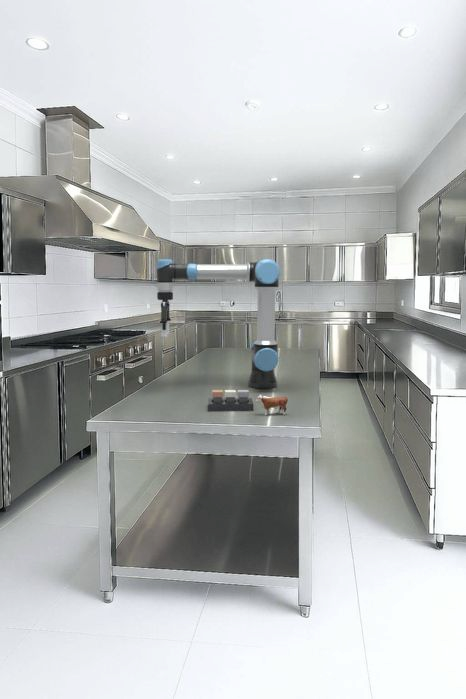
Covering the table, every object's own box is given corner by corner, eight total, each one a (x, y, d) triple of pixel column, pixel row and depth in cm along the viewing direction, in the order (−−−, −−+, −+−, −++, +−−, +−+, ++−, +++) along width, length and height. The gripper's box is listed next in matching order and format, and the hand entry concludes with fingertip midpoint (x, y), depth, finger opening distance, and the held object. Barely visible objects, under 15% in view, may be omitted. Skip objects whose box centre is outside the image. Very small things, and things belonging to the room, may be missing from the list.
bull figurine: (254, 413, 229) (254, 394, 228) (286, 412, 230) (287, 393, 229) (255, 415, 224) (256, 396, 223) (288, 415, 225) (289, 395, 224)
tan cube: (222, 401, 240) (222, 390, 240) (223, 404, 236) (223, 392, 235) (212, 401, 240) (212, 390, 239) (212, 404, 235) (212, 392, 235)
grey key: (248, 401, 241) (248, 389, 240) (248, 403, 236) (248, 391, 235) (237, 401, 240) (237, 389, 240) (238, 404, 236) (238, 392, 235)
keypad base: (251, 404, 245) (251, 398, 244) (253, 410, 233) (253, 404, 232) (208, 404, 244) (208, 398, 244) (208, 411, 232) (208, 404, 232)
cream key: (235, 401, 240) (235, 389, 240) (235, 404, 236) (236, 392, 235) (224, 401, 240) (224, 390, 240) (225, 404, 236) (225, 392, 235)
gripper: (159, 291, 279) (160, 333, 282) (154, 292, 255) (155, 337, 257) (174, 291, 280) (175, 333, 282) (170, 292, 255) (171, 337, 257)
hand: (165, 335), depth 270 cm, fingers open, 13 cm apart
